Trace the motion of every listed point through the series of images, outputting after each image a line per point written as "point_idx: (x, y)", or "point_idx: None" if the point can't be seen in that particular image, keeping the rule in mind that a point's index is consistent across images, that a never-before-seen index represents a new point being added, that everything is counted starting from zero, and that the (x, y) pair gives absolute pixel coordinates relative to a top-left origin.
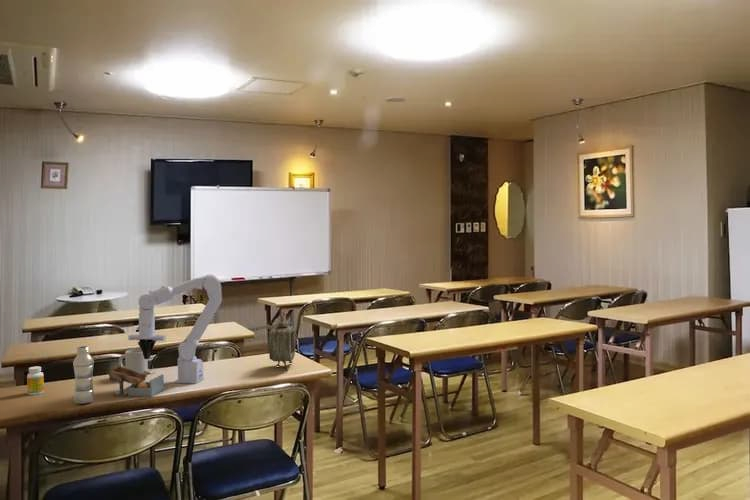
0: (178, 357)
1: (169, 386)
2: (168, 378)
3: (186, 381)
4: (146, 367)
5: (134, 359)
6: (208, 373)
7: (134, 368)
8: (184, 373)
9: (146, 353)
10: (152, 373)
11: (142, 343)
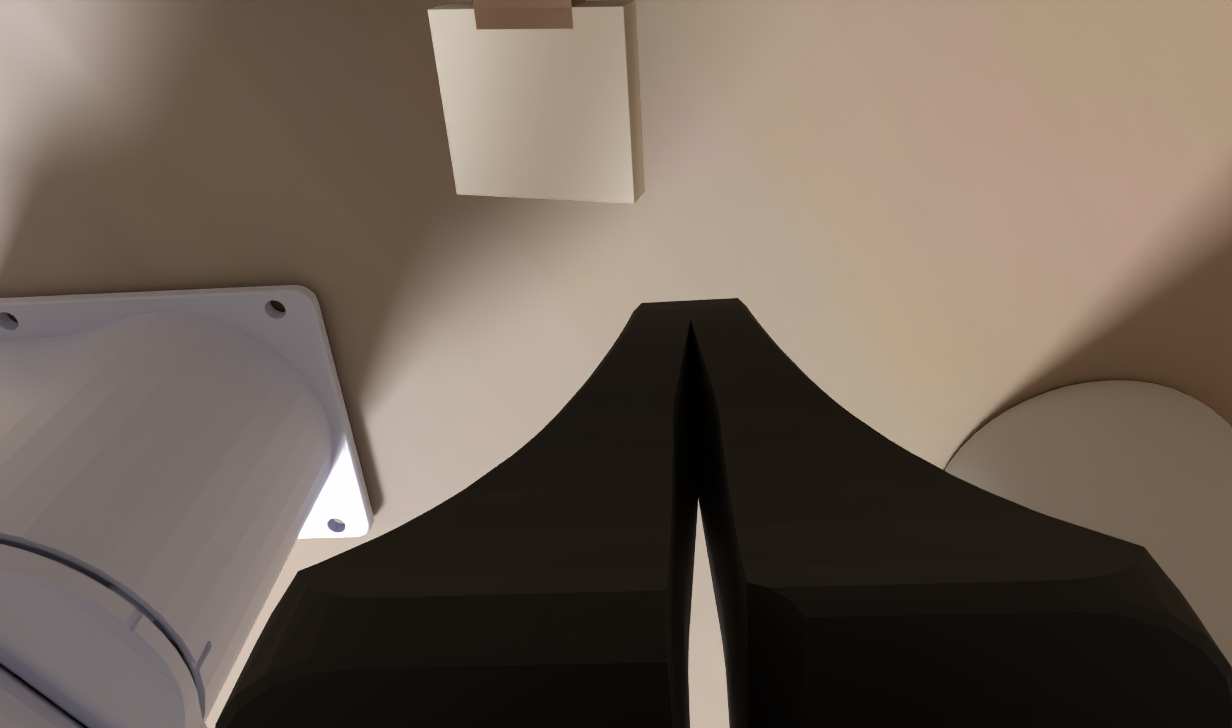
0: (179, 692)
1: (243, 103)
2: None
3: (112, 322)
4: None
5: (1223, 625)
6: (216, 712)
7: (1134, 496)
8: (63, 383)
9: (636, 368)
10: (447, 68)
11: (786, 578)
